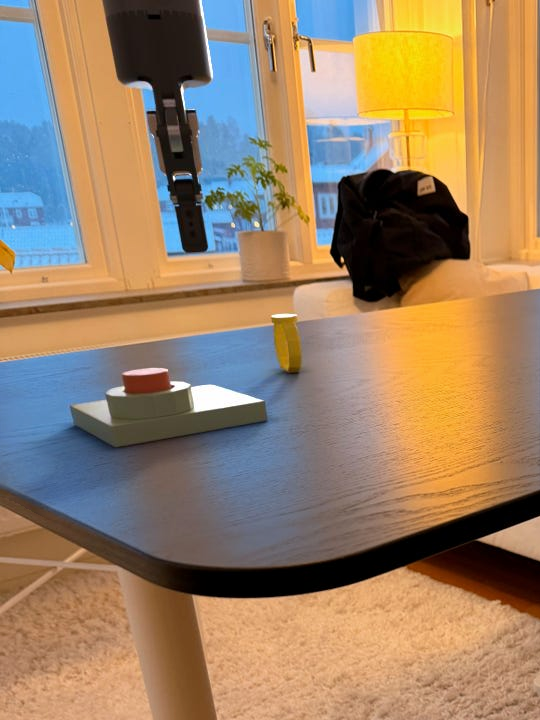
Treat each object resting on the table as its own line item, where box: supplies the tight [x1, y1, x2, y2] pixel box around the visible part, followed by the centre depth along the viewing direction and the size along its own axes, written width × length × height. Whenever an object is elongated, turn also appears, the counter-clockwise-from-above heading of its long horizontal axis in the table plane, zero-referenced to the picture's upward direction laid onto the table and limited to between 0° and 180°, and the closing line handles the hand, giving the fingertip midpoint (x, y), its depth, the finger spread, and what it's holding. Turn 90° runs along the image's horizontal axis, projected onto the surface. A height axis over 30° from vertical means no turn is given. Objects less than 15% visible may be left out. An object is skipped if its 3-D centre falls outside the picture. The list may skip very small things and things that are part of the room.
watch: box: [270, 313, 303, 374], centre depth 98 cm, size 6×3×6 cm, turn 27°
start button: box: [121, 367, 172, 394], centre depth 72 cm, size 4×4×2 cm
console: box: [69, 380, 268, 448], centre depth 76 cm, size 13×12×4 cm
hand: (196, 251), depth 78 cm, fingers closed
